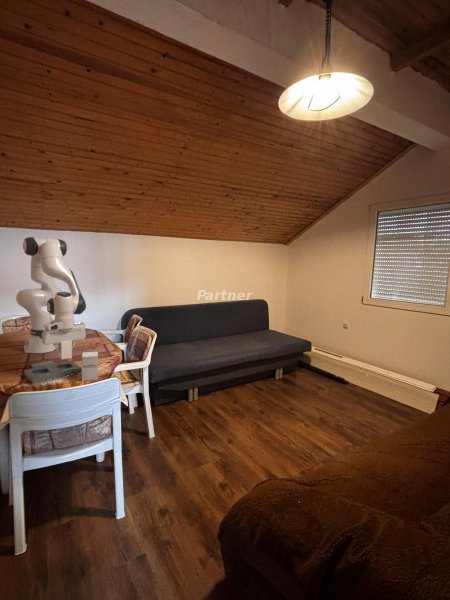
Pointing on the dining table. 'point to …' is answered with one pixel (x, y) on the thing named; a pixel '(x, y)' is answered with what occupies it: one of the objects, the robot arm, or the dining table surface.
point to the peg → (65, 350)
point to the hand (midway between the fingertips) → (64, 350)
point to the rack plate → (51, 371)
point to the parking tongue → (42, 364)
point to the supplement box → (89, 366)
